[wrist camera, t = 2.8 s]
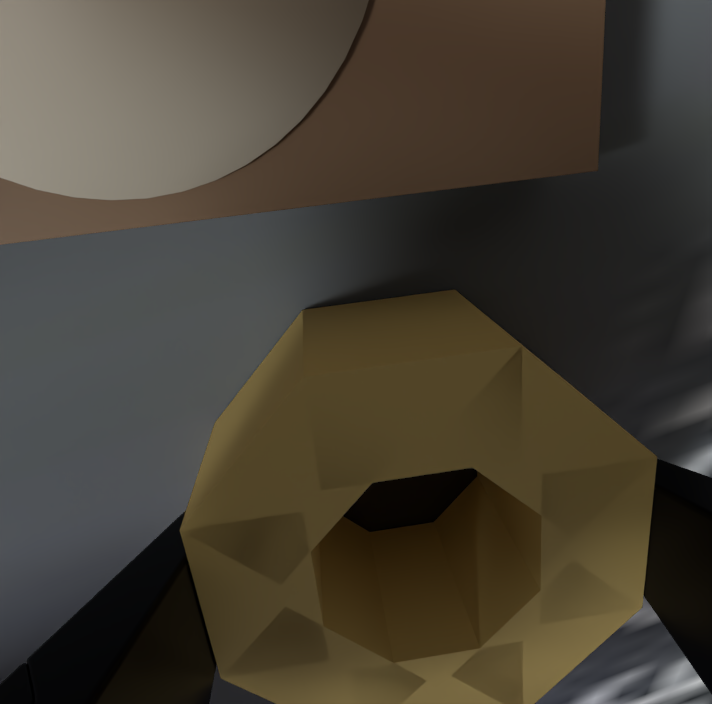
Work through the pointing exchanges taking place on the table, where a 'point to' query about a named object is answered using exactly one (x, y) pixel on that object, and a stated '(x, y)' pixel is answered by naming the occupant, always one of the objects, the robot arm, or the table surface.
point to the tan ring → (417, 542)
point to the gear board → (282, 104)
